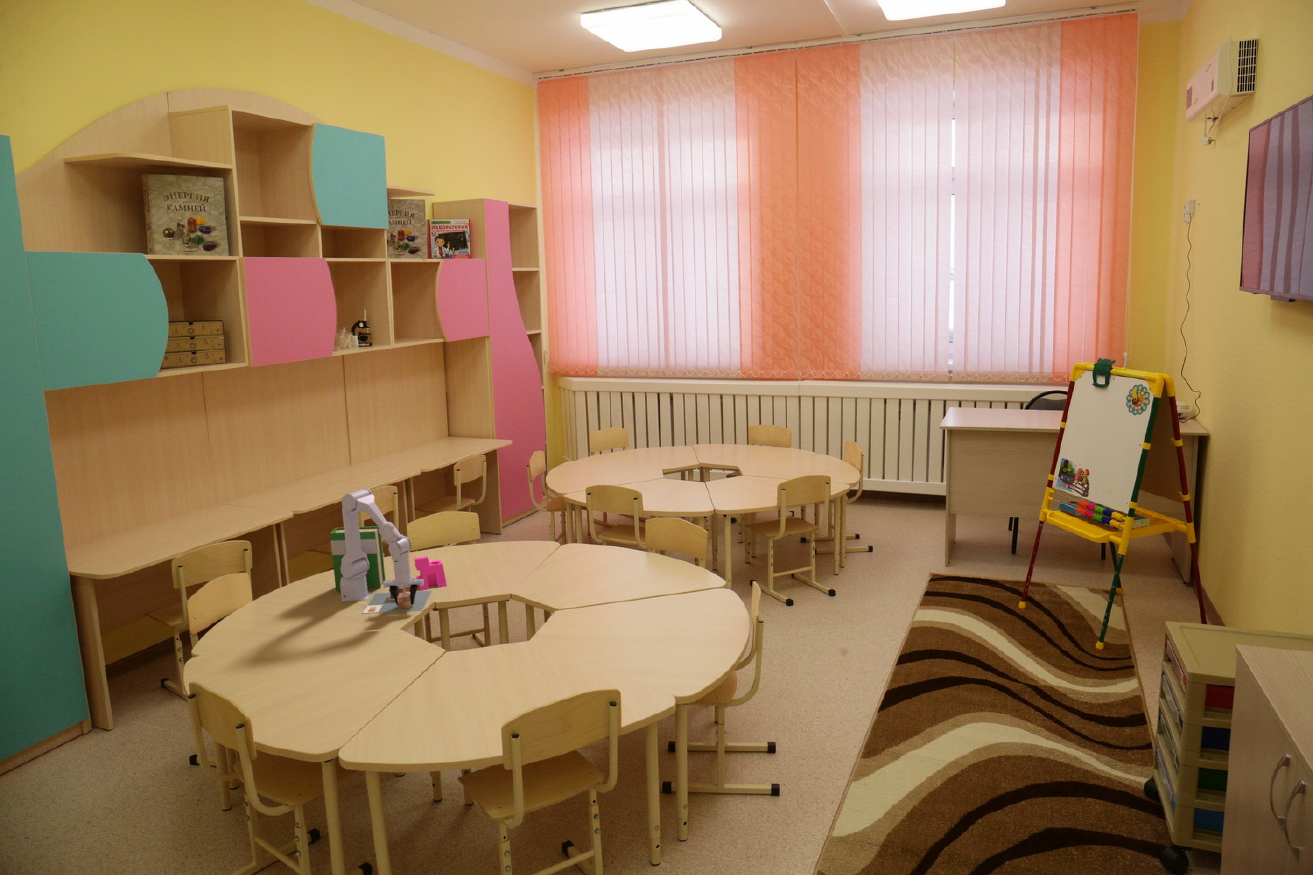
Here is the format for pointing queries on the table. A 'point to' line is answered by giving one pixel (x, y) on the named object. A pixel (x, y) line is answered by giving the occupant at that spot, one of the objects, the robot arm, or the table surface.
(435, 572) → the bracket
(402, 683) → the table surface
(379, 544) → the hardback book
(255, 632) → the table surface
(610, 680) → the table surface
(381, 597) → the mat
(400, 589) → the walnut block
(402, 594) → the terracotta block
